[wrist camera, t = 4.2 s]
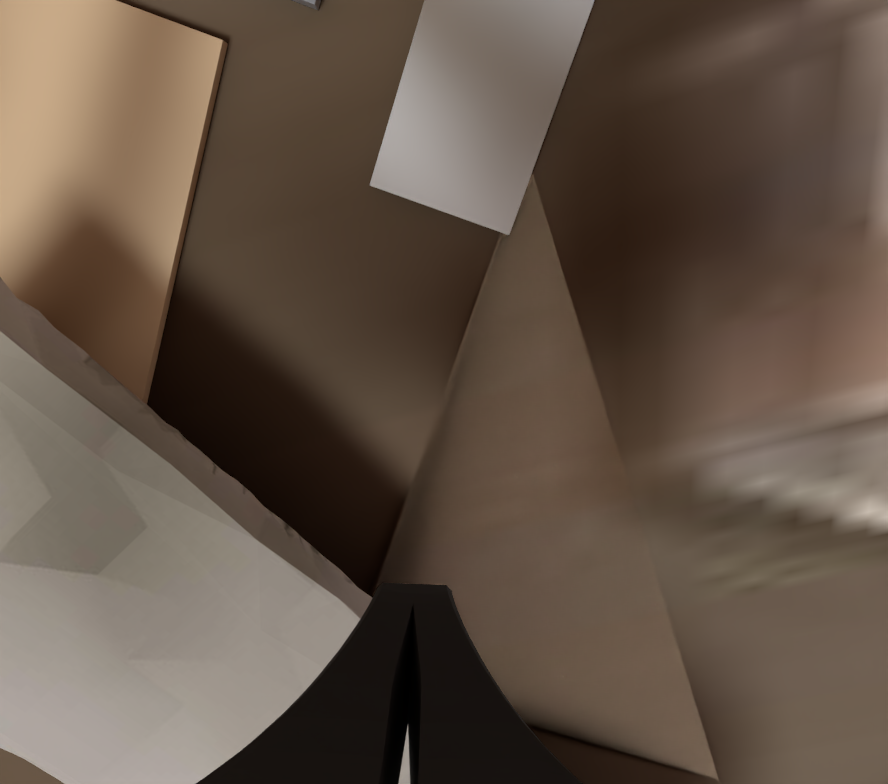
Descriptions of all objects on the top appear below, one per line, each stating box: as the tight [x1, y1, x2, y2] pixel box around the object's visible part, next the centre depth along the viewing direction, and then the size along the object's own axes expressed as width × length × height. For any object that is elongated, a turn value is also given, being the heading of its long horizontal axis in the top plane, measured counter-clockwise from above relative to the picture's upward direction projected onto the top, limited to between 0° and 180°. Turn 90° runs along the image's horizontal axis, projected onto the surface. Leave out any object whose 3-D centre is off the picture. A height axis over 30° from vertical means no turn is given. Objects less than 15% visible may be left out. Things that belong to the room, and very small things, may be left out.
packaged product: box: [0, 277, 410, 784], centre depth 18 cm, size 18×5×10 cm
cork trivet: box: [0, 0, 228, 405], centre depth 19 cm, size 6×19×1 cm, turn 161°
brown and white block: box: [370, 0, 594, 235], centre depth 14 cm, size 9×4×5 cm, turn 161°
